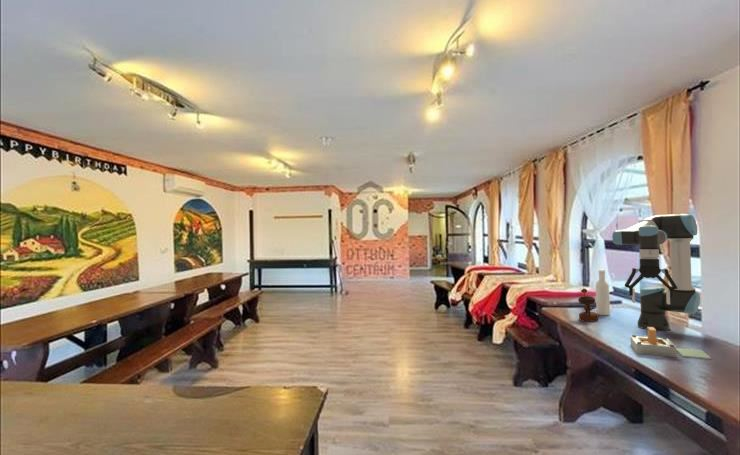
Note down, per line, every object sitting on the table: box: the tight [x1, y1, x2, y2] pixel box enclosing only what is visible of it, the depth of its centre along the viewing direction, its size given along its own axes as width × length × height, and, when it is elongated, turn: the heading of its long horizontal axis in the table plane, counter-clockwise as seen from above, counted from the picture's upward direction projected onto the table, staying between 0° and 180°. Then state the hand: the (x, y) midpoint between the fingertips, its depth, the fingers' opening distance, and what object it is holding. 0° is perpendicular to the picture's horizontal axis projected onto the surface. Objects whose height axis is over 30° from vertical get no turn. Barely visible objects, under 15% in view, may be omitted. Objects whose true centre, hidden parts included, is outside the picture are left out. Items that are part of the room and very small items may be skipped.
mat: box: [676, 347, 712, 360], centre depth 178 cm, size 12×10×1 cm
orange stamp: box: [642, 327, 663, 345], centre depth 185 cm, size 8×8×10 cm
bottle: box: [595, 268, 611, 316], centre depth 262 cm, size 8×8×30 cm
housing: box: [629, 334, 678, 358], centre depth 185 cm, size 15×15×5 cm
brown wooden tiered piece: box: [578, 287, 599, 322], centre depth 248 cm, size 15×11×20 cm
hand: (650, 303), depth 185 cm, fingers open, 13 cm apart
